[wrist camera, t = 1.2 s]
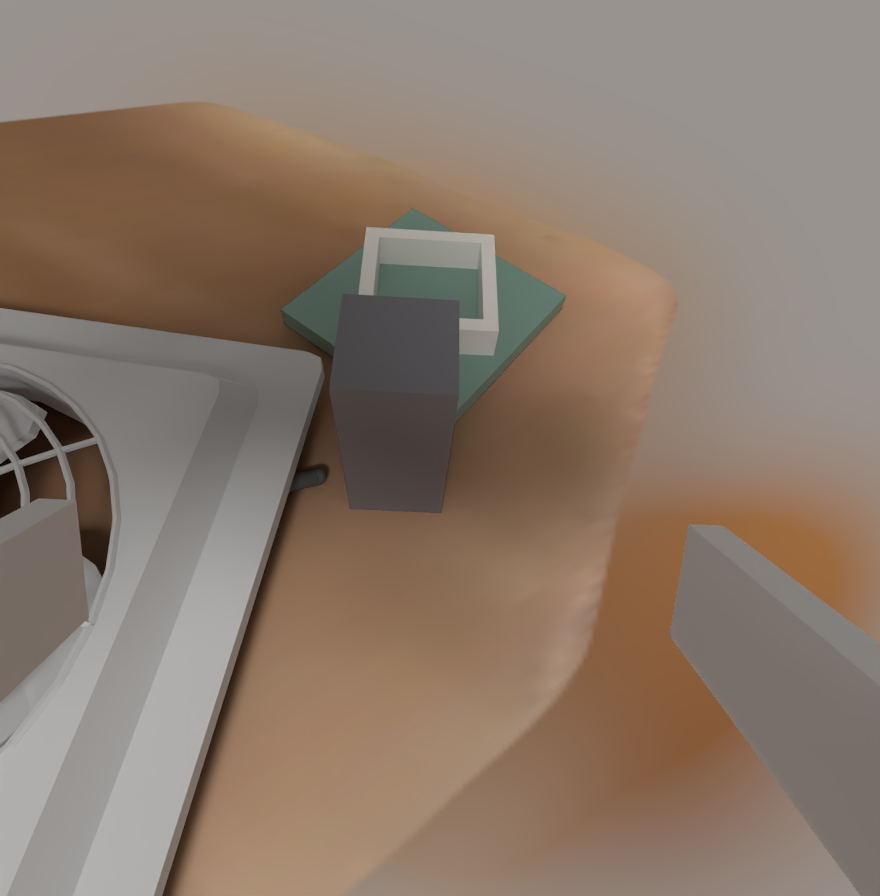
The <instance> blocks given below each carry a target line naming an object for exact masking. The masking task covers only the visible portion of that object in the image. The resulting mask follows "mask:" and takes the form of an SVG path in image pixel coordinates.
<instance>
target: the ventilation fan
mask: <svg viewBox="0 0 880 896" xmlns="http://www.w3.org/2000/svg"><path fill="white" fill-rule="evenodd" d="M324 378H325V376H324V370H323V365H322V361H321V357H319V356H316V355H314V354H312V353H309V352H307V351H300V350H293V349H286V348H279V347H272V346H265V345H257V344H250V343H243V342H236V341H229V340H222V339H215V338H208V337H201V336H194V335H187V334H180V333H173V332H166V331H159V330H152V329H145V328H138V327H131V326H123V325H116V324H109V323H102V322H95V321H88V320H81V319H74V318H67V317H60V316H53V315H46V314H39V313H32V312H25V311H18V310H11V309H4V308H0V464H1V463H2V462H3V461H5V460H6V459H7V458H9V459H10V461H11V462H12V463H10V464H7V465H5V466H2V467H0V475H1V474H4V473H6V472H9V471H12V470H15V474H16V478H17V481H18V485H19V489H20V493H21V507H23V506H25V505H27V504H29V503H30V491H29V487H28V484H27V480H26V477H25V473H24V469H23V467H24V466H27V465H30V464H33V463H36V462H39V461H42V460H45V459H48V458H51V457H54V456H58V460H59V463H60V466H61V469H62V472H63V476H64V479H65V482H66V491H67V500H75V482H74V479H73V476H72V473H71V470H70V467H69V464H68V461H67V457H66V454H65V453H67V452H70V451H74V450H77V449H80V448H84V447H87V446H91V445H94V444H97V443H98V446H99V449H100V452H101V455H102V457H103V460H104V463H105V466H106V470H107V473H108V477H109V481H110V493H111V505H112V517H113V521H112V528H111V535H110V541H109V548H108V555H107V562H106V569H105V572H104V575H103V577H102V576H101V574H100V572H99V570H98V569H97V567H96V566H95V564H93V563H92V562H90V561H89V560H88V559H86V558H85V557H83V556H82V558H83V567H84V577H85V586H86V595H87V604H88V613H89V618H88V619H87V620H86V621H85V622H84V623H83V624H82V625H81V626H79V627H78V628H77V629H76V630H75V631H74V632H73V633H72V634H71V635H70V636H69V637H68V638H67V639H66V640H65V641H64V642H63V643H62V644H61V645H60V646H59V647H58V648H57V649H55V650H54V651H53V652H52V653H51V654H50V655H49V656H48V657H47V658H46V659H45V660H44V661H43V662H42V663H41V664H40V665H39V666H38V667H37V668H36V669H35V670H34V671H33V672H31V673H30V674H29V675H28V676H27V677H26V678H25V679H24V680H23V681H22V682H21V683H20V684H19V685H18V686H17V687H16V688H15V689H14V690H13V691H12V692H11V693H10V694H9V695H7V696H6V697H5V698H4V699H3V700H2V701H1V702H0V896H162V895H163V892H164V888H165V885H166V882H167V879H168V876H169V872H170V869H171V866H172V863H173V860H174V857H175V853H176V850H177V847H178V844H179V841H180V837H181V834H182V831H183V828H184V825H185V821H186V818H187V815H188V812H189V809H190V806H191V802H192V799H193V796H194V793H195V790H196V786H197V783H198V780H199V777H200V774H201V770H202V767H203V764H204V761H205V758H206V755H207V751H208V748H209V745H210V742H211V739H212V735H213V732H214V729H215V726H216V723H217V719H218V716H219V713H220V710H221V707H222V703H223V700H224V697H225V694H226V691H227V688H228V684H229V681H230V678H231V675H232V672H233V668H234V665H235V662H236V659H237V656H238V652H239V649H240V646H241V643H242V640H243V637H244V633H245V630H246V627H247V624H248V621H249V617H250V614H251V611H252V608H253V605H254V601H255V598H256V595H257V592H258V589H259V586H260V582H261V579H262V576H263V573H264V570H265V566H266V563H267V560H268V557H269V554H270V550H271V547H272V544H273V541H274V538H275V535H276V531H277V528H278V525H279V522H280V519H281V515H282V512H283V509H284V506H285V503H286V499H287V496H288V493H289V490H290V487H291V483H292V480H293V477H294V474H295V471H296V468H297V464H298V461H299V458H300V455H301V452H302V448H303V445H304V442H305V439H306V436H307V432H308V429H309V426H310V423H311V420H312V417H313V413H314V410H315V407H316V404H317V401H318V397H319V394H320V391H321V388H322V385H323V381H324ZM29 400H31V401H38V402H42V403H44V404H46V405H48V406H50V407H52V408H54V409H55V410H57V411H59V412H61V413H63V414H65V415H67V416H69V417H71V418H73V419H75V420H77V421H79V422H81V423H83V424H85V425H86V426H87V427H88V429H89V430H90V432H91V433H92V434H93V436H94V438H91V439H87V440H84V441H80V442H77V443H73V444H70V445H67V446H63V447H62V446H61V444H60V443H59V441H58V440H57V438H56V437H55V435H54V434H53V432H52V431H51V429H50V428H49V426H48V425H47V423H46V422H45V421H44V419H45V417H46V415H47V412H46V411H45V410H43V409H42V408H40V407H39V406H37V405H35V404H34V403H32V402H31V401H29ZM40 428H41V430H42V431H43V433H44V434H45V436H46V437H47V439H48V440H49V442H50V443H51V445H52V446H53V448H54V449H53V450H50V451H47V452H44V453H41V454H38V455H35V456H32V457H28V458H25V459H22V460H20V459H19V458H18V456H17V454H16V453H15V452H16V451H17V450H19V449H20V448H22V447H23V446H24V445H26V444H27V443H29V442H30V441H32V440H33V439H35V438H36V437H37V435H38V432H39V430H40Z"/></svg>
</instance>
